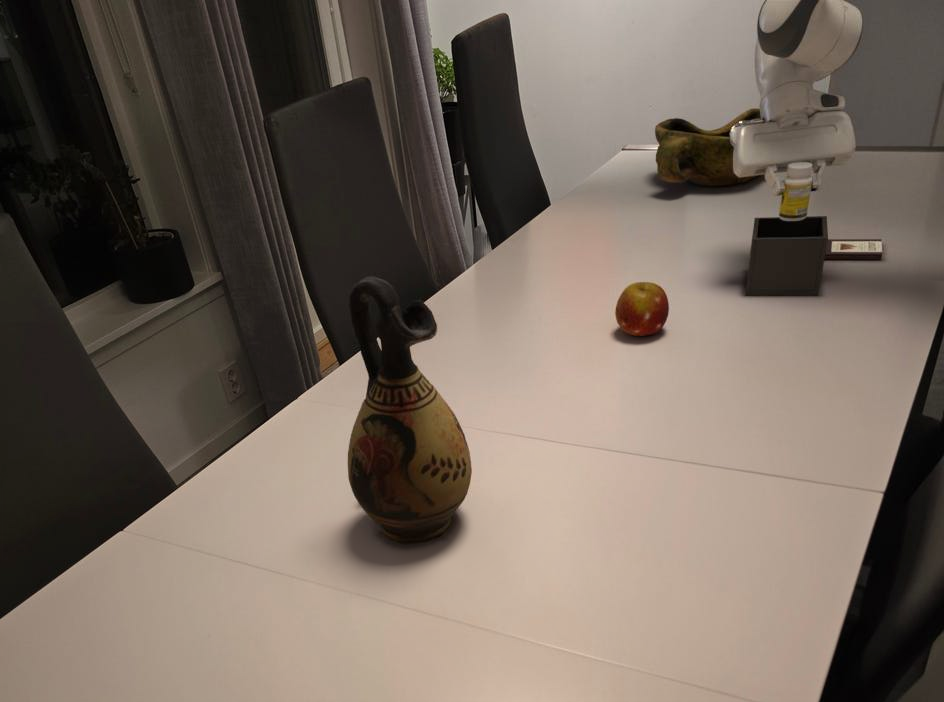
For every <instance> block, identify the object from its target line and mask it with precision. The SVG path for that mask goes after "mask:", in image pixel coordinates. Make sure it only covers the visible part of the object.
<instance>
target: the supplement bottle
mask: <svg viewBox="0 0 944 702" xmlns="http://www.w3.org/2000/svg"><path fill="white" fill-rule="evenodd" d="M812 166H813V165H812V164H811V163H808V162H795V163H791V164H789V165H788V169H787V172H786V177H784V179H783V181H784V180H785V187H786V190H785V192H784V194H783V195H781V197H780V205H779V212H778V217H779V218H780V219H781V220H784V221H800V220H803V219H805V218H806V217H808V212H809V211H808V210H809V205H810V199H811V193H812V192H811V186H812V177H813V176H812V173H813V169H812Z"/></svg>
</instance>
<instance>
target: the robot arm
mask: <svg viewBox="0 0 944 702" xmlns="http://www.w3.org/2000/svg"><path fill="white" fill-rule="evenodd" d="M863 30H864V18H863V13H862V11H861V10H860V9H859V7H857V6H856V5H854V4H852V3H850V2H847V1H846V0H764V2H763V3H762V5H761V7H760V10H759V13H758V17H757V24H756V32H757V33H756V34H757V37H756V40H755V45H754V46H755V47H754V72H755V73H754V74H755V75H754V76H755V82H756V88H757V91H758V92H759V94H760V99H759V109H760V115H761V118H759V119H753V120H748V121H745V120H743V121H739V122H737V124H735V125H734V126H733V127H732V128H731V130H730V141H731V144H732V145H733V146H734V149H733V170H734V173H735V174H736V175H737V176H738V177H747V176H755V175H756V176H763V175H764V181H766V182H767V183H768V184H769V186H770V187H771V188H772V190H773V196H774V197H778V196H782V195H783V194H784V192H785V190H786V187H785V180H784V179H783V180H780V178H779V177H778V176H777V174H778V173H787V169H788V165H789V164H791V163H795V162H808V163H811V164H812V165H813V166H812V174H815V176H811V177H812V186H811V193H812V192H819V191H820V189H821V188H822V179H821V177H822V175H823V173H824V170H825V168H828V167H829V168H830V167H837V166H844V165H846V164H847V163H848V162H849V161H850V159H851V158H852V157H853V155H854V153H855V151H856V147H857V143H856V136H855V131H854V127H853V123H852V120H851V118H850V116H849V115H848V114H847V113H846V112H845V111H843V110H844V109H845V107H846V106H845V105H846V99H845V96H843V95H840V94H834V93H829V92H825V91H820V90H817V89H815V88H814V83H817V82H819V81H821V80H823V79H826V77H828V76H830V75H832V74H833V73H834V72H836V71H837V70H839V69H840V68H842V67H843V66H845V64H847V63H848V62H849V61H850V60H851V58H852V57H853V56H854V54H855V53H856V51H857V49H858V47H859V45H860V42H861V40H862V36H863ZM756 176H755V177H756Z"/></svg>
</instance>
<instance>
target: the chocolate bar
mask: <svg viewBox="0 0 944 702" xmlns="http://www.w3.org/2000/svg"><path fill="white" fill-rule="evenodd" d="M882 256H883V245H882V239H881V238H852V239H851V238H850V239H848V238H847V239H846V238H845V239H843V238H842V239H841V238H839V239H838V238H837V239H835V238H833V239H832V238H828V242H827V248H826V254H825V259H824V260H882Z"/></svg>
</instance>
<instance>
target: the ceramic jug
mask: <svg viewBox="0 0 944 702" xmlns="http://www.w3.org/2000/svg"><path fill="white" fill-rule="evenodd" d="M370 299H374V302H375V303H376V305H377V308H378V311H379V314H380V318H379V320H378V322H377V324H376V326H375V325H374V321H373V319H372V316H371V312H370V309H371V303H370ZM348 300H349V302H348V304H349V305H348V306H349V311H350V312H349V313H350V317H351V324H352V327H353V331H354V334H355V338H356V339H357V343H358V347H359V351H360V355H361V358H362V360H363V363H364V367H365V370H366V373H367V375H368V379H367V380H368V381H367V386H366V393H365V398H364V400H363V401H362V403H361V405H360V408H359V411H358V414H357V416H356V419H355V421H354V423H353V426H352V430H351V434H350V438H349V443H348V450H347V477H348V478H347V479H348V482H349V485H350V489H351V492H352V494H353V496H354V498H355V499H356V501H357V503H358V505H359V506H360V507H361V509H362V510H363V511H364V512H365V514H366V515H368V516H369V517H370V518H371V519H372V520H374V521H375V522H376V523H378V524H379V527H380V529H381V531H382V533H383V534H385V535H386V536H387V537H388V538H390V539H391V540H394V541H395V542H396V543H399V544H402V545H407V544H414V543H419V542H420V543H421V542H423V543H425V542H429V541H431V540H434V539H438V538H440V537H441V536H443V534H444V532H445V531H447V529H448V528H449V527H450V526H451V523H452V519H451V518H452V516H453V515H454V514H455V513H456V511H457V510H458V509H459V507H461V505H462V504H463V502H464V501H465V499H466V497H467V494H468V492H469V488H470V486H471V478H472V473H473V469H472V460H471V459H472V458H471V451H470V449H469V445H468V442H467V438H466V435H465V433H464V430H463V428H462V426H461V424H460V421H459V420H458V418H457V416H456V414H455V412H454V410H452V408H451V407H450V405H449V404H448V403H447V402H446V400H445V399H444V397H443V396H442V395H441V394H440V392H439V391H438V390H437V388H436V387H435V386H434V385H433V384H432V383H431V382H430V380H429V379H428V378H427V377H426V376H425V375H424V374H423V373H422V372H421V370H420V368H419V367H418V365H416V363H414V360H413V358H412V351H411V347H412V346H415V345H416V344H420V343H423V342H426V341H430V340H432V339H433V338H434V337H436V335H437V333H438V324H437V321H436V319H435V316H434V314H433V311H432V310H431V309H430V308H429V306H428V305H427V304H426V303H425V302H424V301H422V300H421V299H418V300H417V299H416V300H414V301H413V302H412V303H410V304H409V305H407V306H406V307H405V308H404V309H402V307H401V299H400V297H399V295H398V294H397V292H396V291H395V288H394V287H393V285H392V284H390V283H389V282H388V281H387V280H385V279H383V278H379V277H376V276H374V275H373V276H372V275H370V276H366V277H364V278H362V279H361V280H359V281H357V282H356V283H355V284H354V285H353V286H352V289H351V291H350V294H349V297H348ZM378 339H379V340H380V345H379V342H378V341H379V340H378Z"/></svg>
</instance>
